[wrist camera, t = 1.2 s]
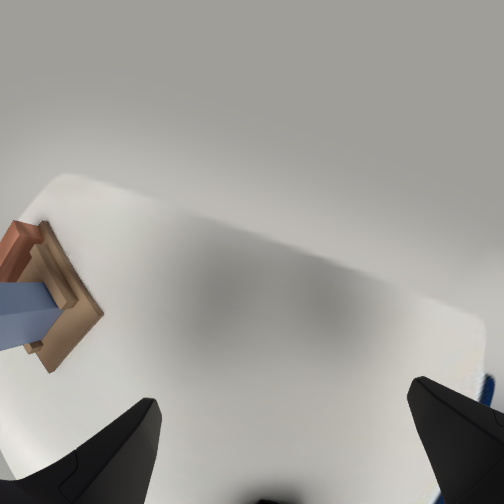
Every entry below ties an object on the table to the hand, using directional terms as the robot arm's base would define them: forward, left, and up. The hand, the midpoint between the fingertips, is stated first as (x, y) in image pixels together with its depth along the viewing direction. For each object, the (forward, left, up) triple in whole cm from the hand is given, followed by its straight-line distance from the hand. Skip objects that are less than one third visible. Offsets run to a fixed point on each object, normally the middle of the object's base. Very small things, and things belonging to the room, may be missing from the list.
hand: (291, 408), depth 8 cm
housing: (-10, +21, -14) cm, 27 cm away
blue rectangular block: (-10, +20, -13) cm, 26 cm away
